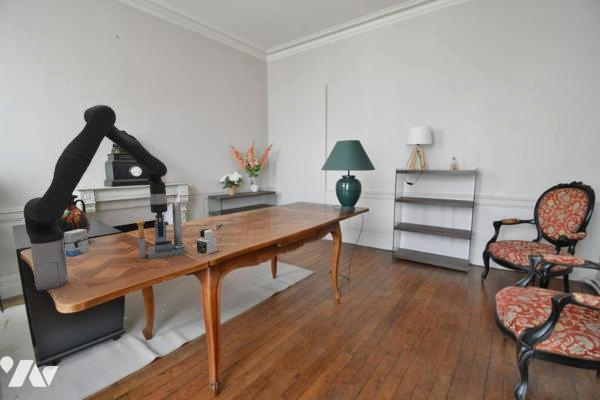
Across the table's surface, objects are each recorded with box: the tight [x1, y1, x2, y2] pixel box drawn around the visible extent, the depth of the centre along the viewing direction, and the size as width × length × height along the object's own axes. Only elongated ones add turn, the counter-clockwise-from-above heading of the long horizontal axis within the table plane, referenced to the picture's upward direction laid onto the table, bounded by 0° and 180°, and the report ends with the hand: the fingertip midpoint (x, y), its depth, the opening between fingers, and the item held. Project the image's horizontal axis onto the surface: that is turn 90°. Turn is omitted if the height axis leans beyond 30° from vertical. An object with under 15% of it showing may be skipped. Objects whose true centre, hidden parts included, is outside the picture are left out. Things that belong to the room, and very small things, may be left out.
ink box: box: [64, 229, 90, 257], centre depth 141 cm, size 8×5×12 cm, turn 168°
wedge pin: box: [136, 220, 146, 241], centre depth 137 cm, size 4×4×11 cm
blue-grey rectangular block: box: [154, 221, 168, 242], centre depth 141 cm, size 5×5×9 cm
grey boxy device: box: [196, 228, 218, 256], centre depth 144 cm, size 7×7×12 cm
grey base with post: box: [138, 201, 187, 260], centre depth 141 cm, size 14×21×26 cm
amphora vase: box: [57, 194, 91, 246], centre depth 154 cm, size 22×22×28 cm
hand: (160, 235), depth 141 cm, fingers closed on blue-grey rectangular block, 5 cm apart
